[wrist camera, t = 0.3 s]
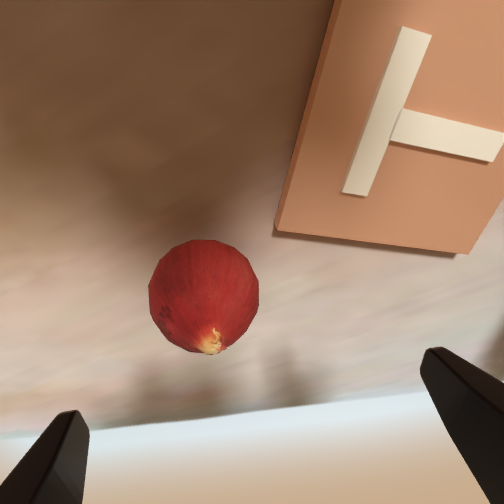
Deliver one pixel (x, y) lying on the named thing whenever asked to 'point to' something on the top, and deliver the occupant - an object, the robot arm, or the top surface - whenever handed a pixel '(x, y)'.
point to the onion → (203, 296)
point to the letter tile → (402, 126)
